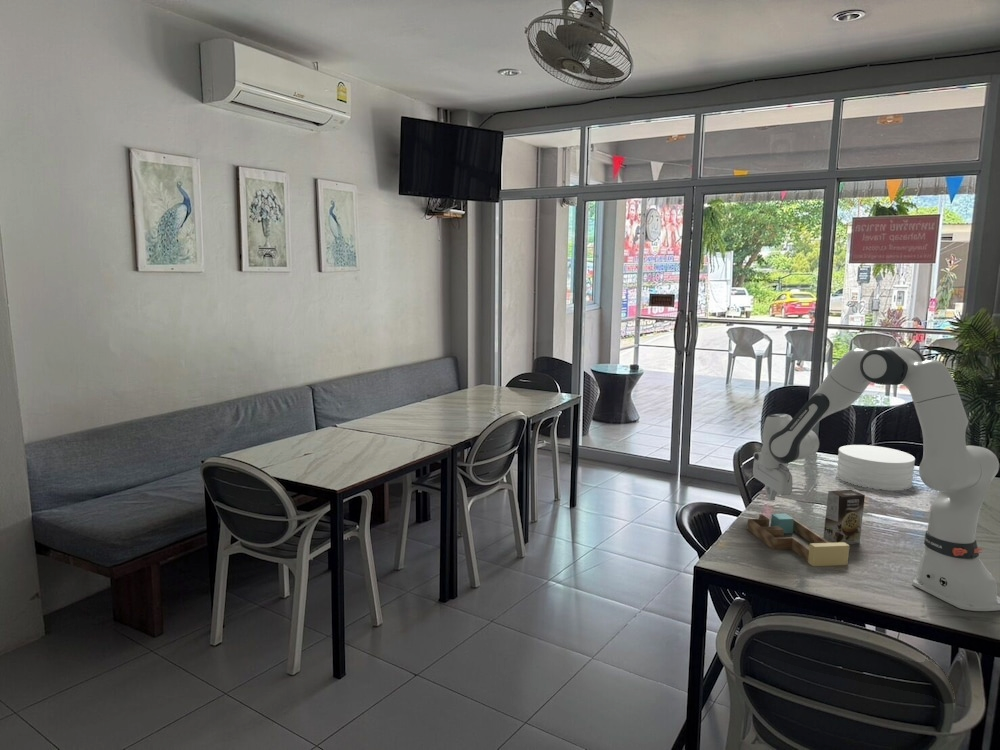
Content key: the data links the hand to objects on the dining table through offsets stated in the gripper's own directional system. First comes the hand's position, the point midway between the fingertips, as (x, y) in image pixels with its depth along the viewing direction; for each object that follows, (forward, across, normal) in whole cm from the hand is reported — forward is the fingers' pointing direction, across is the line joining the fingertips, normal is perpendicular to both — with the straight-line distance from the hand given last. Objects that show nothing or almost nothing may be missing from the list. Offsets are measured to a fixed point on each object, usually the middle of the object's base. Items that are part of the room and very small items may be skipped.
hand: (770, 499), depth 239 cm
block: (+8, -8, 0) cm, 12 cm away
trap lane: (+8, -18, +3) cm, 20 cm away
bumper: (+8, -35, 0) cm, 36 cm away
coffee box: (+8, -18, -15) cm, 25 cm away
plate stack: (+8, +43, -69) cm, 82 cm away
